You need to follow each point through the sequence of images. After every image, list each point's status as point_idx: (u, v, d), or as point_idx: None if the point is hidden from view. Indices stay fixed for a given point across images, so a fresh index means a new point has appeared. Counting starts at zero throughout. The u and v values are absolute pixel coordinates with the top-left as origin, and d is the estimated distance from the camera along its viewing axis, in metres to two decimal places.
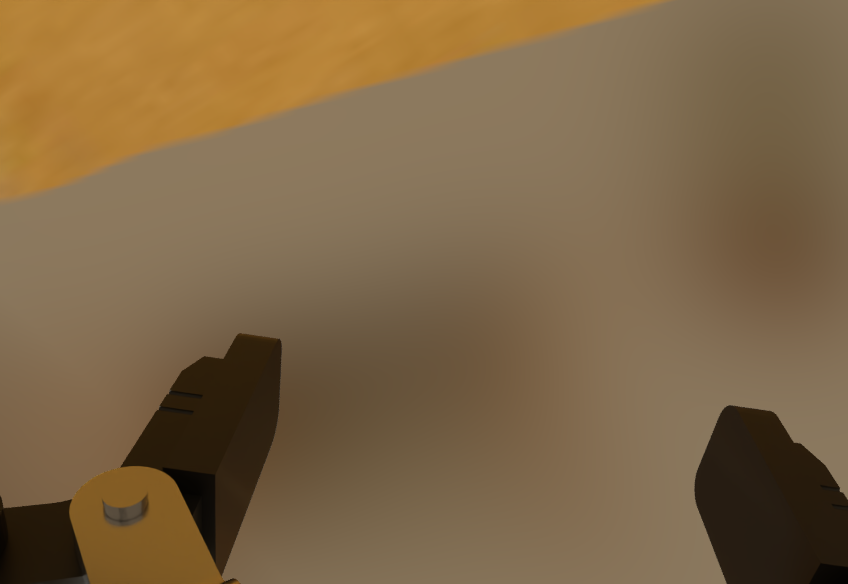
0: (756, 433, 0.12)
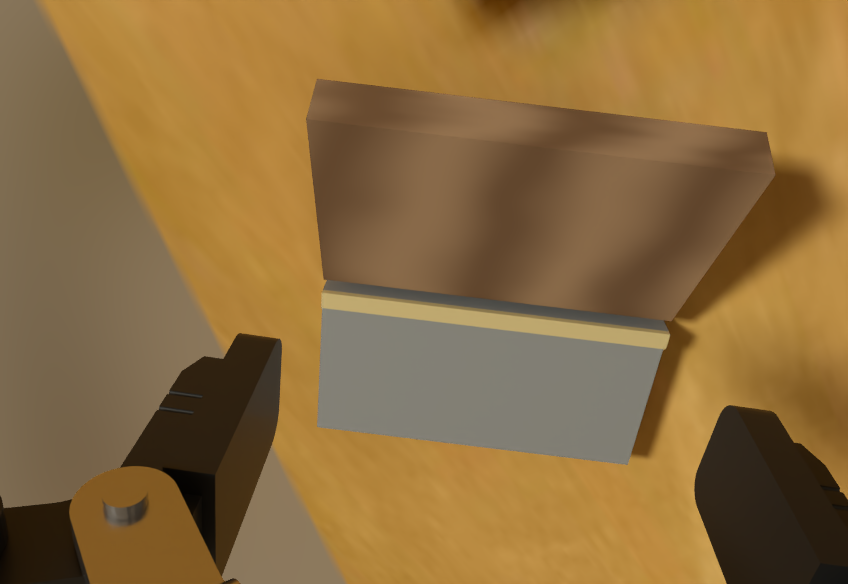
0: (756, 433, 0.12)
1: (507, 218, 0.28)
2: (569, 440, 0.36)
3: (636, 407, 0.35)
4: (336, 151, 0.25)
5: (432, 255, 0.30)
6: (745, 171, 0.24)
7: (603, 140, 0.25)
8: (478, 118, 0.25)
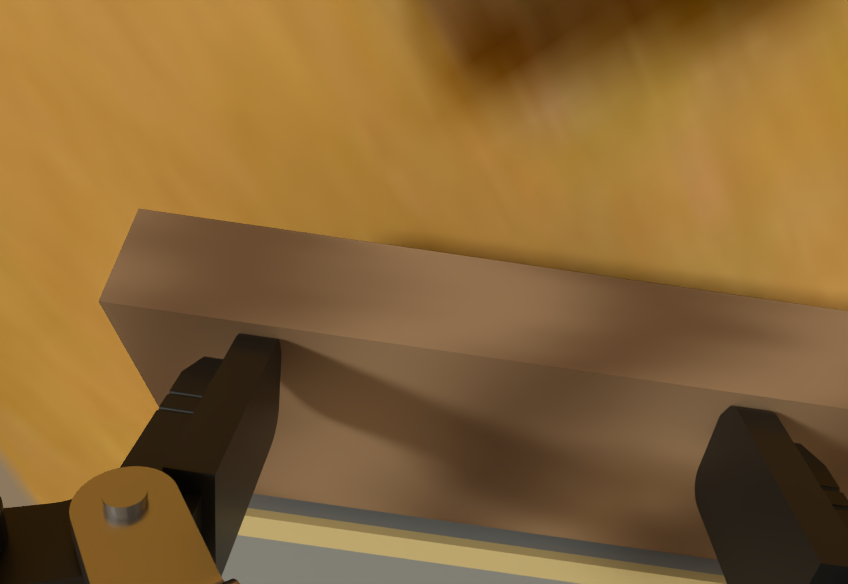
0: (756, 433, 0.12)
1: (504, 450, 0.15)
2: None
3: None
4: (174, 349, 0.13)
5: (374, 477, 0.18)
6: None
7: (700, 353, 0.12)
8: (451, 300, 0.12)
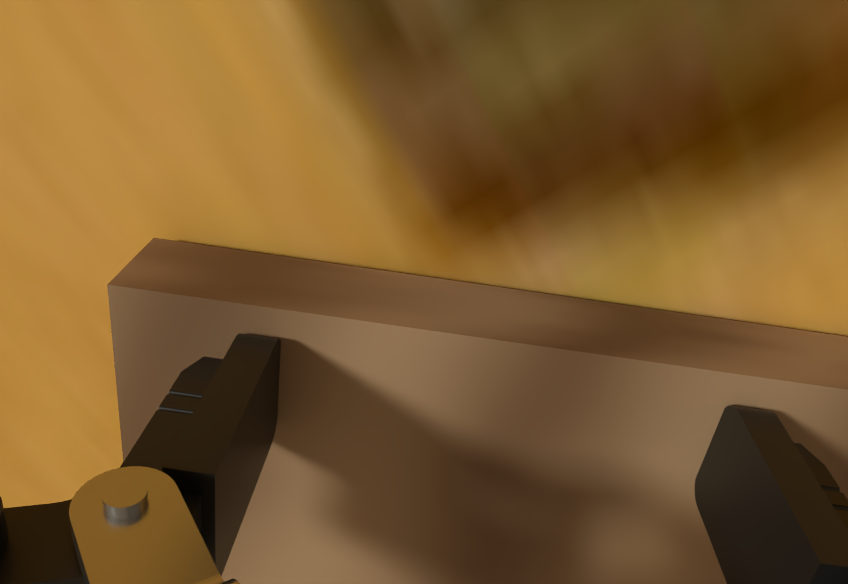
0: (756, 433, 0.12)
1: (503, 518, 0.14)
2: None
3: None
4: (167, 362, 0.13)
5: None
6: None
7: (688, 348, 0.13)
8: (448, 304, 0.13)
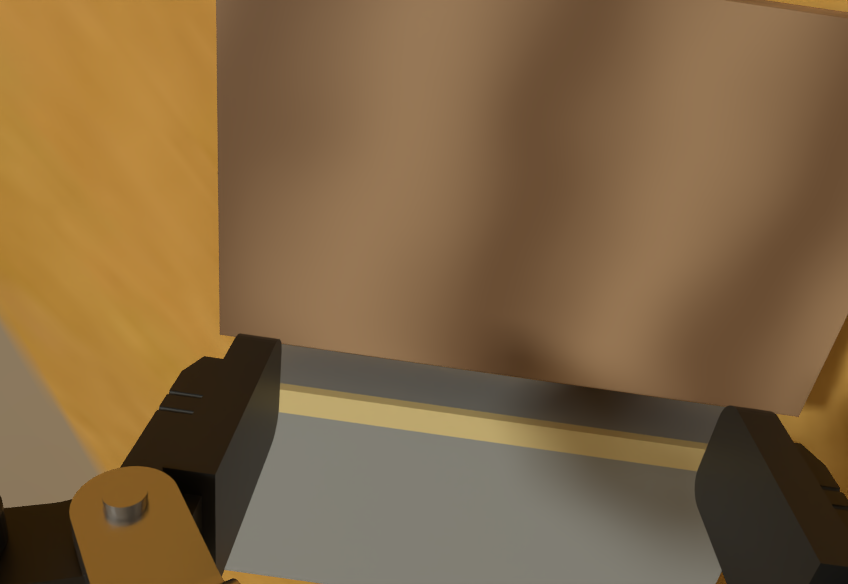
0: (756, 433, 0.12)
1: (537, 165, 0.17)
2: None
3: (713, 559, 0.22)
4: (260, 6, 0.15)
5: (406, 264, 0.18)
6: None
7: None
8: None
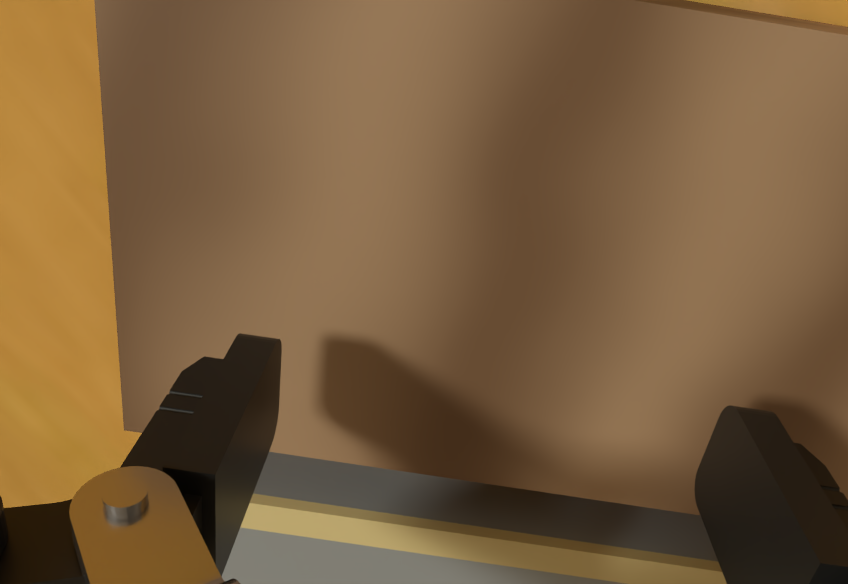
0: (756, 433, 0.12)
1: (525, 232, 0.13)
2: None
3: None
4: (155, 21, 0.11)
5: (357, 351, 0.14)
6: None
7: (736, 14, 0.12)
8: None
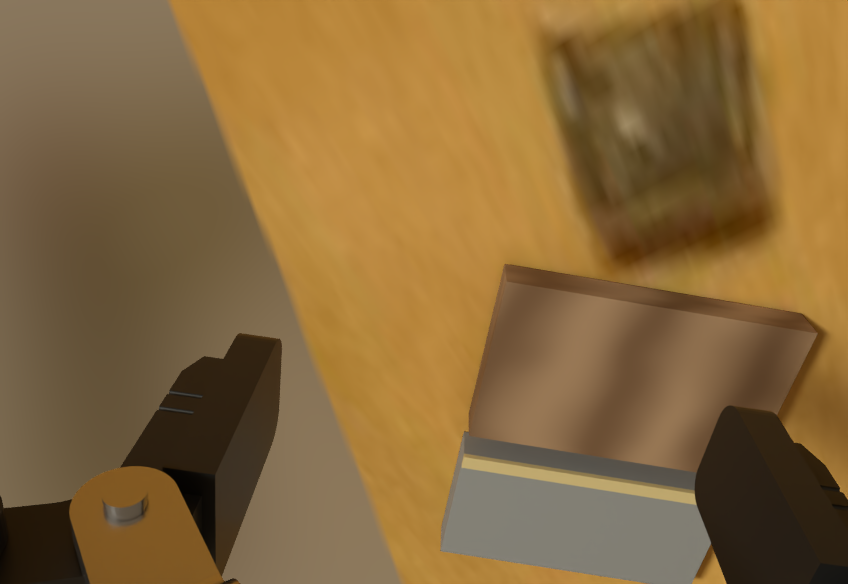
0: (756, 433, 0.12)
1: (630, 371, 0.38)
2: (644, 570, 0.45)
3: (701, 548, 0.44)
4: (519, 309, 0.36)
5: (564, 408, 0.39)
6: (798, 330, 0.36)
7: (701, 308, 0.36)
8: (617, 291, 0.37)
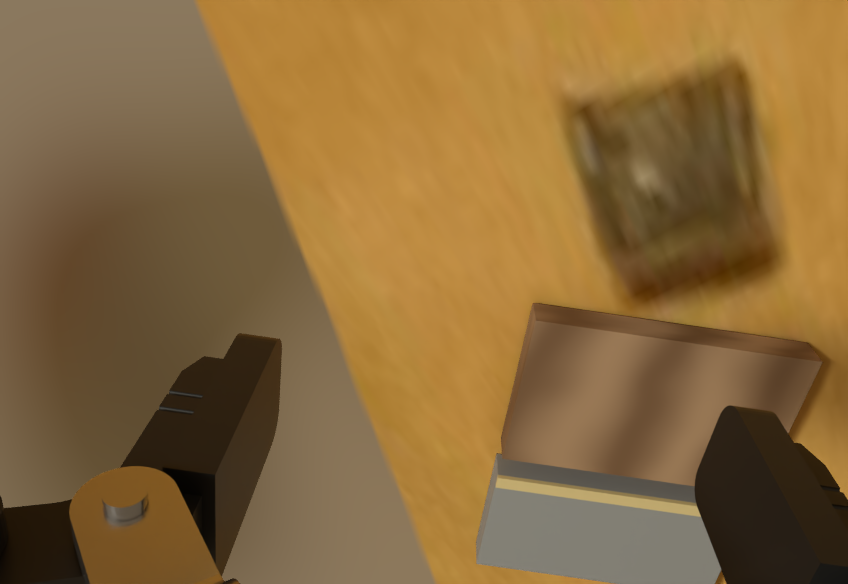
0: (756, 433, 0.12)
1: (650, 398, 0.41)
2: (666, 579, 0.48)
3: None
4: (547, 344, 0.40)
5: (590, 432, 0.43)
6: (804, 359, 0.39)
7: (714, 340, 0.40)
8: (636, 326, 0.40)
